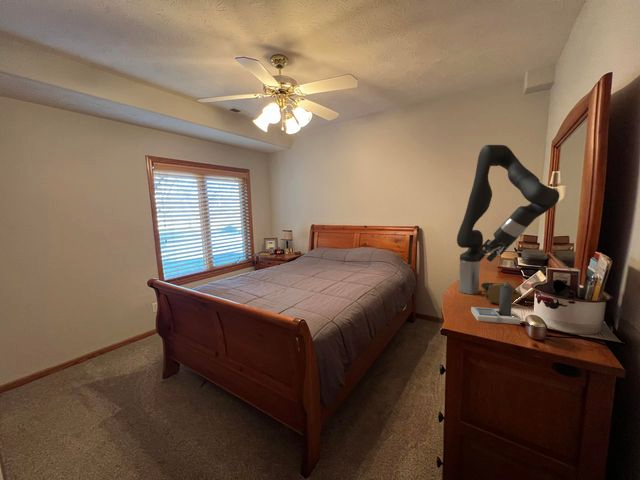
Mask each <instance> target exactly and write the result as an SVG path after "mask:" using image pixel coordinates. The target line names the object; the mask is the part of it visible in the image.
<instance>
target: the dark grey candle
mask: <svg viewBox="0 0 640 480" xmlns="http://www.w3.org/2000/svg"><path fill="white" fill-rule="evenodd" d="M509 284H510V282H509V281H505V280H504V286H501V287H500V302H499V304H498V305H499V307H498V309H499V315H500V316H511V310H512V304H513V303H512V287H509Z"/></svg>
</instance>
